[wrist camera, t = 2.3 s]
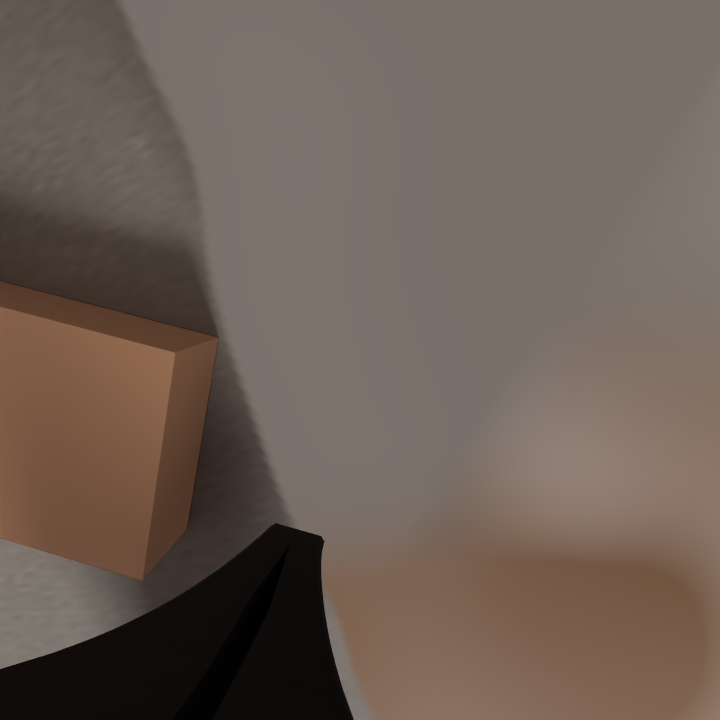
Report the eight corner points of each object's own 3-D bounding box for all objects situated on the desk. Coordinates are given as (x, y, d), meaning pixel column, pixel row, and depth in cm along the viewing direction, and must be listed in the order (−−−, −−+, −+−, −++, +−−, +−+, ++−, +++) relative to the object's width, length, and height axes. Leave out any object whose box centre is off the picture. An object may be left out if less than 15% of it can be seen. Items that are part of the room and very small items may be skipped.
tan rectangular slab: (186, 529, 18) (142, 580, 15) (-85, 451, 19) (-177, 485, 16) (218, 337, 16) (175, 352, 13) (-83, 259, 17) (-186, 257, 14)
